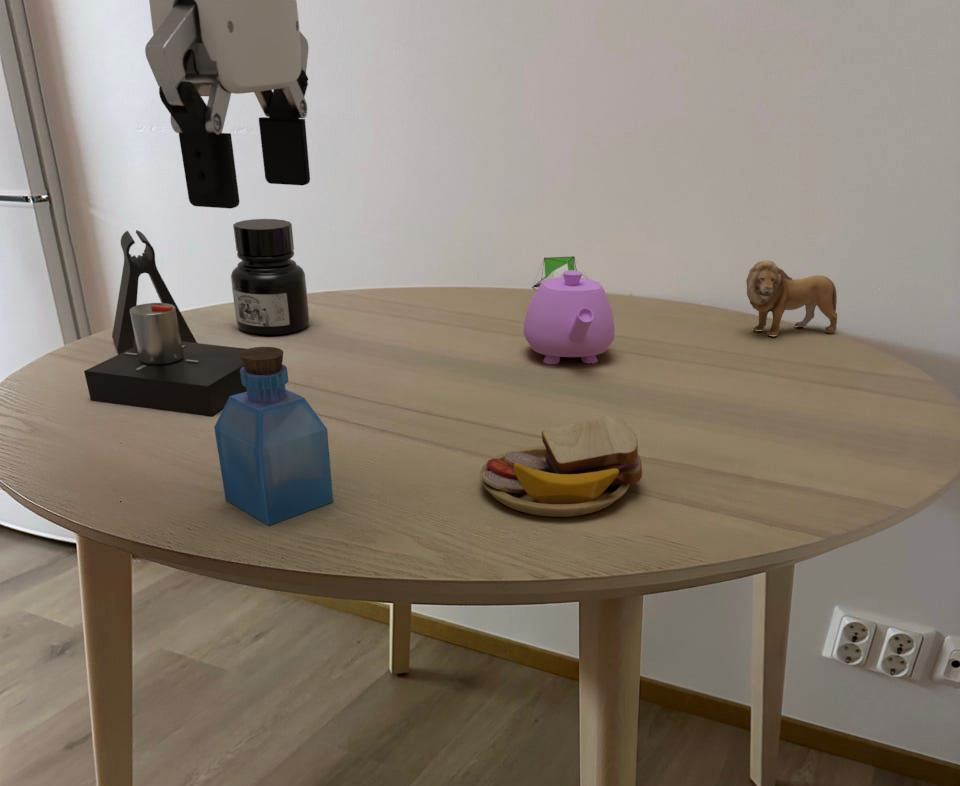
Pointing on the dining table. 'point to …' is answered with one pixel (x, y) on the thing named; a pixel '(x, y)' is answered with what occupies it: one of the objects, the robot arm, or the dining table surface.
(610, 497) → the toy sandwich meal
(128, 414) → the dining table surface
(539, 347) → the teapot
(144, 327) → the knob
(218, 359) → the hob
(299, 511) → the perfume bottle
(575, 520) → the dining table surface
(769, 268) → the lion figurine
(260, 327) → the ink bottle
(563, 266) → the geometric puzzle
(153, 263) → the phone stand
